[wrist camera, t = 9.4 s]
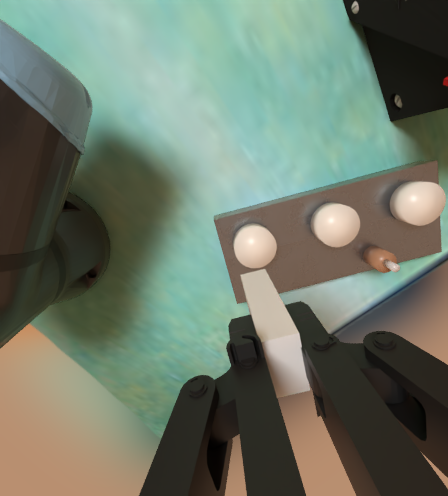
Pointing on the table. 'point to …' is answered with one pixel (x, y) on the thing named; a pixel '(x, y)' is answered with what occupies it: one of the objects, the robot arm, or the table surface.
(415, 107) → the electrical component
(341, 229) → the knob mid
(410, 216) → the knob outer
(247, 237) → the knob
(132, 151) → the table surface
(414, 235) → the plate
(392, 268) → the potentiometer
